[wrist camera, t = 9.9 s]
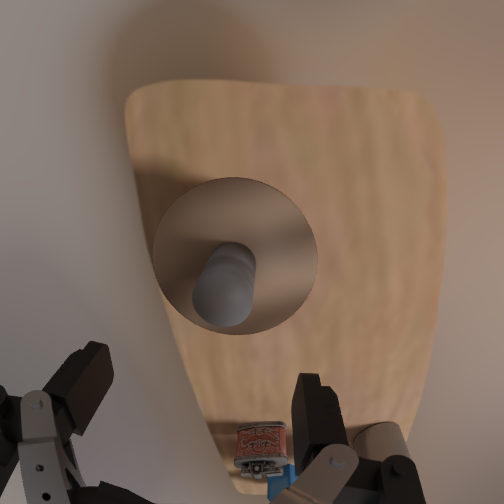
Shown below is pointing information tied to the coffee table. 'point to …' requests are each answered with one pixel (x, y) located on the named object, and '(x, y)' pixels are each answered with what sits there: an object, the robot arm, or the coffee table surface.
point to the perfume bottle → (281, 481)
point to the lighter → (261, 449)
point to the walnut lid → (235, 256)
